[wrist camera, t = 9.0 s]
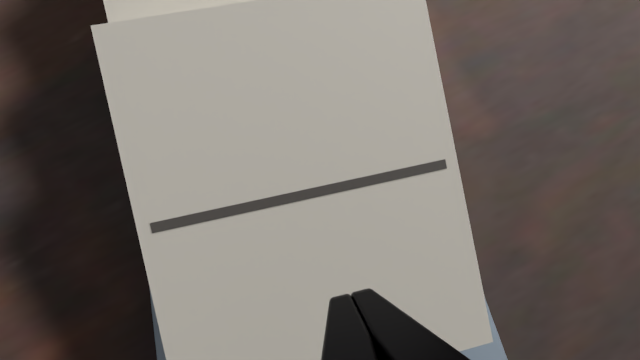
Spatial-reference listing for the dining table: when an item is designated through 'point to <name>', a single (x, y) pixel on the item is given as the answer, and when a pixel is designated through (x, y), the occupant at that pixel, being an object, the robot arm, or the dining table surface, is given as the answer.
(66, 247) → the dining table surface
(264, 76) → the domino
